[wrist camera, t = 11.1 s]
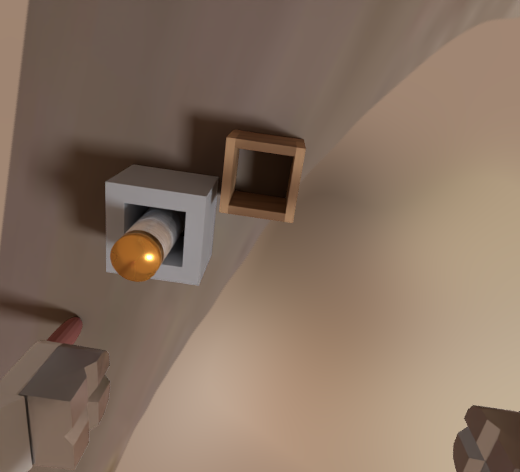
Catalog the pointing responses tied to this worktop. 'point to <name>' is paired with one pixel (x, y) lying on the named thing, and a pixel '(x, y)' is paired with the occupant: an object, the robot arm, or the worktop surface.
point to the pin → (147, 243)
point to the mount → (257, 202)
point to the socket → (167, 197)
